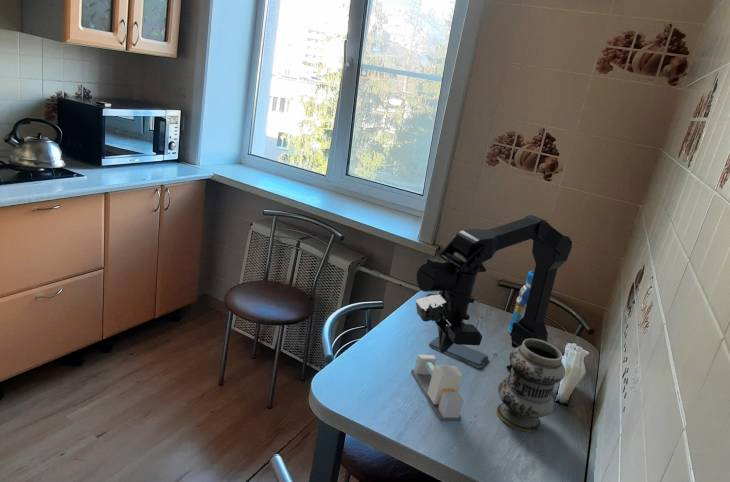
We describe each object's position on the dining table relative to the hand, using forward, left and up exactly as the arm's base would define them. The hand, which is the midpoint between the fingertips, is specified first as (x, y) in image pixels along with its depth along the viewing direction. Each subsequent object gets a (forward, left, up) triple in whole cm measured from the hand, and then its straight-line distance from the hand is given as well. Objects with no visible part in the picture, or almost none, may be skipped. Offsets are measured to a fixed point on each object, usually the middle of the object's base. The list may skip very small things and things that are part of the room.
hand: (441, 351), depth 117 cm
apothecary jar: (-18, +10, -11) cm, 23 cm away
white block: (0, +4, -9) cm, 10 cm away
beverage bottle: (-42, -30, -11) cm, 53 cm away
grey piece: (0, +1, -10) cm, 10 cm away
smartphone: (-15, -18, -11) cm, 26 cm away
